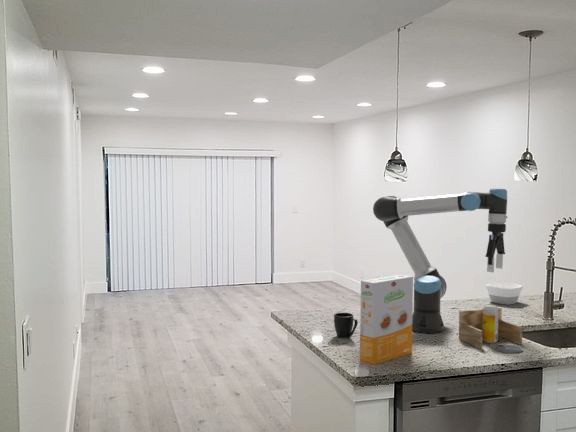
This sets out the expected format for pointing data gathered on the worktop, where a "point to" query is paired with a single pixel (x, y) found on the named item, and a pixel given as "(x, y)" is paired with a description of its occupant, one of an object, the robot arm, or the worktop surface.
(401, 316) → the cereal box
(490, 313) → the beer can
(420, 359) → the worktop surface
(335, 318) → the mug
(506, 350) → the coaster
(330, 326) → the worktop surface
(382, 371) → the worktop surface
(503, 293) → the bowl
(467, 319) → the shelf bay
